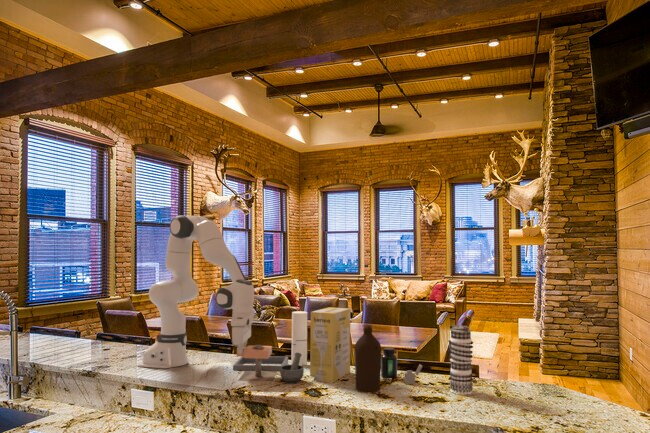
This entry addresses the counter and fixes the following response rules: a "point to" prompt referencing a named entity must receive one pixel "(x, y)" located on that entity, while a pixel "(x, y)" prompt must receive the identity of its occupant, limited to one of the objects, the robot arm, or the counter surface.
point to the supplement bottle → (388, 363)
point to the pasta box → (330, 344)
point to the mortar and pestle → (292, 371)
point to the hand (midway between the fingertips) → (242, 352)
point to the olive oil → (367, 361)
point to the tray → (271, 360)
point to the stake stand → (257, 371)
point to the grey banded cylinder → (460, 360)
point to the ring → (256, 352)
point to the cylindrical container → (299, 336)
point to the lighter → (411, 375)
